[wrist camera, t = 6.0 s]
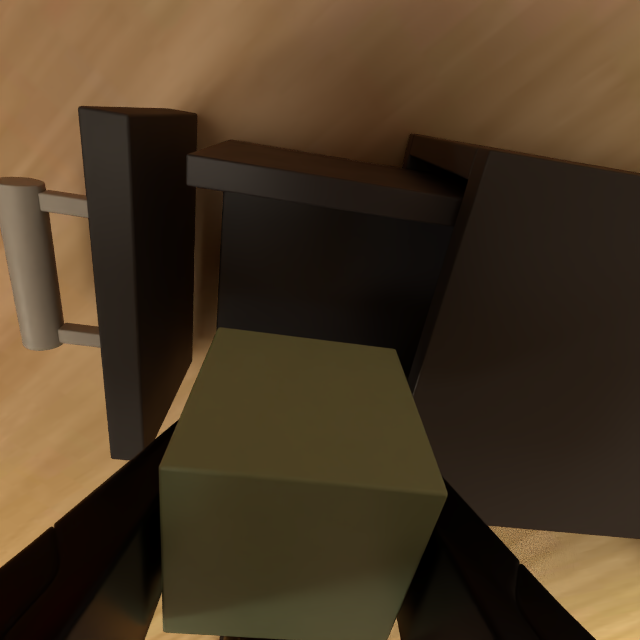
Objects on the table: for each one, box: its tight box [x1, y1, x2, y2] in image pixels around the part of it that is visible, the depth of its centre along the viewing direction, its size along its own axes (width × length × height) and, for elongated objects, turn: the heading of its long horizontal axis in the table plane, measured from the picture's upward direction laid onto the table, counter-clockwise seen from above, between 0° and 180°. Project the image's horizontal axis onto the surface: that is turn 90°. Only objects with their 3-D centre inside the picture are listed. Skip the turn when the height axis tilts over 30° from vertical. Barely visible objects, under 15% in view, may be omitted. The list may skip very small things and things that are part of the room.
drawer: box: [0, 106, 468, 460], centre depth 16 cm, size 18×11×7 cm, turn 81°
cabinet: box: [402, 133, 640, 539], centre depth 17 cm, size 15×13×9 cm
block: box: [159, 327, 448, 640], centre depth 8 cm, size 4×4×4 cm
